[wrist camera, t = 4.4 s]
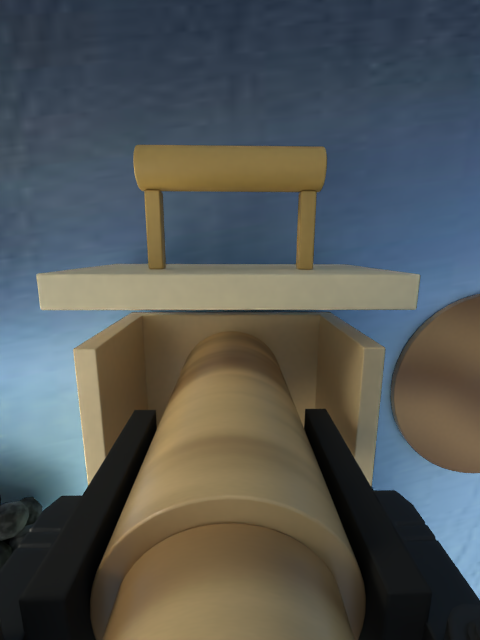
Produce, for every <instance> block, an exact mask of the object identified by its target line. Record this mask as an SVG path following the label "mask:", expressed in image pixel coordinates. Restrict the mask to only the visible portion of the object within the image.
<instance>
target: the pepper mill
mask: <svg viewBox="0 0 480 640" xmlns="http://www.w3.org/2000/svg"><path fill="white" fill-rule="evenodd" d="M365 612H366V594H365V587H364V581H363V578H362V574H361V571H360V568H359V566H358V563H357V561H356V558H355V555H354V553H353V550H352V548H351V545H350V543H349V540H348V538H347V535H346V533H345V530H344V528H343V525H342V523H341V520H340V518H339V515H338V513H337V510H336V508H335V505H334V503H333V500H332V498H331V495H330V493H329V490H328V487H327V485H326V482H325V480H324V477H323V475H322V472H321V470H320V467H319V465H318V462H317V460H316V457H315V455H314V452H313V450H312V447H311V445H310V442H309V440H308V437H307V435H306V432H305V430H304V427H303V424H302V422H301V419H300V417H299V414H298V412H297V409H296V407H295V404H294V402H293V399H292V397H291V394H290V392H289V389H288V387H287V384H286V382H285V379H284V377H283V374H282V372H281V369H280V367H279V364H278V362H277V359H276V357H275V355H274V354H273V352H272V351H271V350H270V348H269V347H268V346H267V345H266V344H265V343H263V342H262V341H261V340H259V339H258V338H256V337H254V336H252V335H249V334H246V333H242V332H234V331H229V332H221V333H217V334H214V335H211V336H209V337H207V338H205V339H204V340H202V341H201V342H200V343H198V344H197V345H196V346H195V347H194V348H193V350H192V351H191V352H190V354H189V355H188V357H187V359H186V361H185V364H184V366H183V368H182V371H181V373H180V375H179V378H178V380H177V383H176V385H175V387H174V390H173V392H172V394H171V397H170V399H169V402H168V404H167V406H166V409H165V411H164V413H163V416H162V418H161V420H160V423H159V425H158V428H157V430H156V432H155V435H154V437H153V439H152V442H151V444H150V446H149V449H148V451H147V454H146V456H145V458H144V461H143V463H142V465H141V468H140V470H139V473H138V475H137V477H136V480H135V482H134V484H133V487H132V489H131V491H130V494H129V496H128V499H127V501H126V503H125V506H124V508H123V510H122V513H121V515H120V517H119V520H118V522H117V525H116V527H115V529H114V532H113V534H112V536H111V539H110V541H109V543H108V546H107V548H106V551H105V553H104V555H103V558H102V560H101V562H100V565H99V567H98V570H97V572H96V575H95V578H94V581H93V585H92V589H91V597H90V619H91V624H92V629H93V633H94V636H95V639H96V640H358V639H359V636H360V633H361V630H362V628H363V623H364V618H365Z"/></svg>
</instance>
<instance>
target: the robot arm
mask: <svg viewBox="0 0 480 640" xmlns="http://www.w3.org/2000/svg"><path fill="white" fill-rule="evenodd" d="M156 430H157V423H156V410H134V412H133V414H132V415H131V417H130V419H129V420H128V422H127V423H126V425H125V427H124V428H123V430H122V432H121V433H120V435H119V437H118V438H117V440H116V441H115V443H114V445H113V446H112V448H111V450H110V451H109V453H108V455H107V456H106V458H105V459H104V461H103V463H102V464H101V466H100V468H99V469H98V471H97V473H96V474H95V476H94V477H93V479H92V481H91V482H90V484H89V486H88V487H87V489H86V491H85V492H84V494H83V495H82V496H61V497H60V498H58V499H57V500H56V501H55V502H53V503H52V504H51V505H50V506H48V507H47V508H46V509H45V510H44V511H43V512H42V513H41V514H40V516H39V517H38V518H37V520H36V521H35V523H34V524H33V525H32V527H31V528H30V531H29V533H27V534H26V535H25V536H24V538H23V539H22V540H21V542H20V543H19V545H18V548H17V549H15V550H14V551H13V553H12V554H11V556H10V557H9V558H8V560H7V561H6V563H5V564H4V565H3V567H2V568H1V569H0V640H96V639H95V636H94V633H93V629H92V624H91V619H90V597H91V589H92V585H93V581H94V578H95V575H96V572H97V570H98V567H99V565H100V562H101V560H102V558H103V555H104V553H105V551H106V548H107V546H108V543H109V541H110V539H111V536H112V534H113V532H114V529H115V527H116V525H117V522H118V520H119V517H120V515H121V513H122V510H123V508H124V506H125V503H126V501H127V499H128V496H129V494H130V491H131V489H132V487H133V484H134V482H135V480H136V477H137V475H138V473H139V470H140V468H141V465H142V463H143V461H144V458H145V456H146V454H147V451H148V449H149V446H150V444H151V442H152V439H153V437H154V435H155V432H156ZM304 430H305V432H306V435H307V437H308V440H309V442H310V445H311V447H312V450H313V452H314V455H315V457H316V460H317V462H318V465H319V467H320V470H321V472H322V475H323V477H324V480H325V482H326V485H327V487H328V490H329V493H330V495H331V498H332V500H333V503H334V505H335V508H336V510H337V513H338V515H339V518H340V520H341V523H342V525H343V528H344V530H345V533H346V535H347V538H348V540H349V543H350V545H351V548H352V550H353V553H354V555H355V558H356V561H357V563H358V566H359V568H360V571H361V574H362V578H363V581H364V587H365V594H366V612H365V618H364V623H363V628H362V630H361V633H360V636H359V639H358V640H480V600H479V598H478V597H477V596H476V594H475V593H474V591H473V590H472V588H471V587H470V586H469V584H468V583H467V581H466V580H465V578H464V577H463V576H462V574H461V573H460V571H459V570H458V568H457V567H456V566H455V564H454V563H453V561H452V560H451V559H450V557H449V556H448V554H447V553H446V551H445V550H444V549H443V547H442V546H441V544H440V543H439V541H436V539H435V536H434V534H433V533H432V531H431V530H430V529H429V527H428V526H427V525H425V522H424V520H423V519H422V517H421V516H420V514H419V513H418V512H417V510H416V509H415V507H414V506H413V505H412V504H411V503H410V502H409V501H408V500H406V499H405V498H404V497H403V496H401V495H400V494H399V493H398V492H396V491H395V490H389V491H373V489H372V487H371V486H370V484H369V482H368V480H367V479H366V477H365V475H364V474H363V472H362V470H361V468H360V467H359V465H358V463H357V462H356V460H355V458H354V456H353V455H352V453H351V451H350V449H349V448H348V446H347V444H346V443H345V441H344V439H343V437H342V436H341V434H340V432H339V431H338V429H337V427H336V425H335V424H334V422H333V420H332V419H331V417H330V415H329V413H328V412H327V410H326V409H305V422H304Z"/></svg>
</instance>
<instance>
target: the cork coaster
mask: <svg viewBox="0 0 480 640" xmlns="http://www.w3.org/2000/svg"><path fill="white" fill-rule="evenodd" d="M391 406H392V412H393V416H394V420H395V422H396V424H397V427H398V429H399V431H400V432H401V434H402V436H403V437H404V439H405V440H406V441H407V442H408V443H409V445H410V446H411V447H412V448H413V449H414V450H415V451H416V452H417V453H418V454H420V455H421V456H422V457H423V458H425V459H426V460H428V461H429V462H431V463H433V464H435V465H437V466H440V467H442V468H445V469H448V470H452V471H457V472H463V473H480V294H476V295H472V296H469V297H466V298H463V299H460V300H458V301H456V302H454V303H452V304H450V305H448V306H446V307H445V308H443V309H441V310H440V311H438V312H437V313H435V314H434V315H433V316H432V317H430V318H429V319H428V320H427V321H426V322H425V323H423V324H422V325H421V326H420V327H419V328H418V329H417V331H416V332H415V333H414V334H413V336H412V337H411V338H410V339H409V341H408V342H407V344H406V346H405V347H404V349H403V350H402V352H401V354H400V357H399V359H398V361H397V363H396V367H395V370H394V373H393V377H392V383H391Z"/></svg>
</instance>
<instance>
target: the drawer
mask: <svg viewBox="0 0 480 640" xmlns="http://www.w3.org/2000/svg"><path fill="white" fill-rule="evenodd" d="M133 161H134V172H135V177H136V181H137V184H138V187H139V188H140V190H142V191H145V192H144V194H145V212H146V230H147V248H148V264H112V265H104V266H96V267H88V268H80V269H72V270H64V271H56V272H48V273H40V274H37V275H36V276H37V284H38V292H39V300H40V308H41V310H415V309H416V308H417V300H418V292H419V283H420V275H419V274H413V273H405V272H398V271H390V270H383V269H376V268H368V267H361V266H353V265H346V264H313V256H314V235H315V215H316V195H317V192H320V191H321V189H322V187H323V185H324V181H325V176H326V169H327V154H326V149H325V148H324V147H310V146H206V145H136V146H135V149H134V157H133ZM161 191H211V192H300V193H299V201H298V227H297V253H296V264H166V258H165V235H164V212H163V193H162V192H161ZM229 331H234V332H242V333H246V334H249V335H252V336H254V337H256V338H258V339H259V340H261V341H262V342H263V343H265V344H266V345H267V346H268V347H269V348H270V350H271V351H272V352H273V354H274V355H275V357H276V359H277V362H278V364H279V367H280V369H281V372H282V374H283V377H284V379H285V382H286V384H287V387H288V389H289V392H290V394H291V397H292V399H293V402H294V404H295V407H296V409H297V412H298V414H299V417H300V419H301V422H302V424H303V427H304V422H305V409H326V410H327V412H328V413H329V415H330V417H331V419H332V420H333V422H334V424H335V425H336V427H337V429H338V431H339V432H340V434H341V436H342V437H343V439H344V441H345V443H346V444H347V446H348V448H349V449H350V451H351V453H352V455H353V456H354V458H355V460H356V462H357V463H358V465H359V467H360V468H361V470H362V472H363V474H364V475H365V477H366V479H367V480H368V482H369V484H370V486H371V487H372V478H373V468H374V458H375V448H376V438H377V428H378V418H379V408H380V398H381V388H382V378H383V369H384V359H385V347H383V346H381V345H380V344H378V343H377V342H375V341H374V340H372V339H371V338H369V337H368V336H366V335H365V334H363V333H361V332H360V331H358V330H357V329H355V328H354V327H352V326H351V325H349V324H348V323H346V322H344V321H343V320H341V319H340V318H338V317H337V316H335V315H334V314H332V313H331V312H132V313H130V314H129V315H127V316H125V317H124V318H122V319H121V320H119V321H117V322H116V323H114V324H113V325H111V326H109V327H108V328H106V329H105V330H103V331H101V332H100V333H98V334H97V335H95V336H93V337H92V338H90V339H89V340H87V341H85V342H84V343H82V344H81V345H79V346H77V347H76V348H74V349H73V352H74V361H75V371H76V380H77V389H78V398H79V407H80V416H81V426H82V435H83V444H84V453H85V462H86V472H87V481H88V486H89V484H90V482H91V481H92V479H93V477H94V476H95V474H96V473H97V471H98V469H99V468H100V466H101V464H102V463H103V461H104V459H105V458H106V456H107V455H108V453H109V451H110V450H111V448H112V446H113V445H114V443H115V441H116V440H117V438H118V437H119V435H120V433H121V432H122V430H123V428H124V427H125V425H126V423H127V422H128V420H129V419H130V417H131V415H132V414H133V412H134V410H156V423H157V428H158V425H159V423H160V420H161V418H162V416H163V413H164V411H165V409H166V406H167V404H168V402H169V399H170V397H171V394H172V392H173V390H174V387H175V385H176V383H177V380H178V378H179V375H180V373H181V371H182V368H183V366H184V364H185V361H186V359H187V357H188V355H189V354H190V352H191V351H192V350H193V348H194V347H195V346H196V345H197V344H198V343H200V342H201V341H202V340H204V339H205V338H207V337H209V336H211V335H214V334H217V333H221V332H229Z"/></svg>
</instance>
